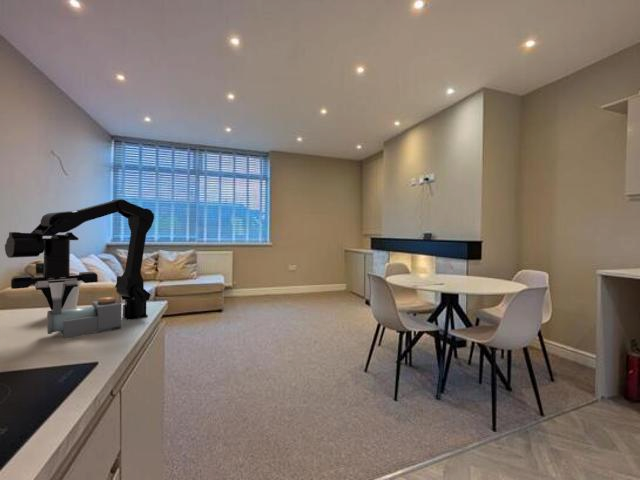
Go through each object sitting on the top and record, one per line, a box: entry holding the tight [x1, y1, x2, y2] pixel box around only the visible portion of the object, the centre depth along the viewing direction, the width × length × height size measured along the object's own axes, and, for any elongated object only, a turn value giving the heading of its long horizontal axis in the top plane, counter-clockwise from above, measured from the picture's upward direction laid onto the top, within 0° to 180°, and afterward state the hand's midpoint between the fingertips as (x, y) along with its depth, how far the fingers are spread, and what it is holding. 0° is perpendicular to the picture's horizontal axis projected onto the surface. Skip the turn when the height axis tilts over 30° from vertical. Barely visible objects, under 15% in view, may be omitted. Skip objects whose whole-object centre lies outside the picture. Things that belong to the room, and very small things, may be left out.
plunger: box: [97, 296, 116, 305], centre depth 97 cm, size 5×5×4 cm
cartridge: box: [46, 297, 96, 335], centre depth 91 cm, size 11×7×10 cm, turn 136°
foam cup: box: [49, 281, 82, 310], centre depth 110 cm, size 10×9×13 cm
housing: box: [59, 299, 122, 340], centre depth 94 cm, size 14×10×8 cm
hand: (56, 308), depth 88 cm, fingers closed on cartridge, 2 cm apart
